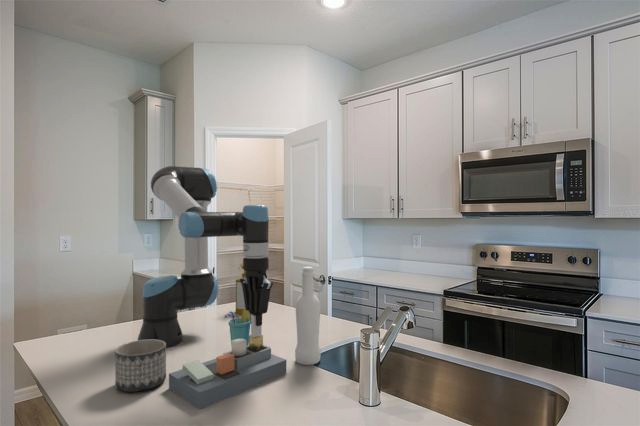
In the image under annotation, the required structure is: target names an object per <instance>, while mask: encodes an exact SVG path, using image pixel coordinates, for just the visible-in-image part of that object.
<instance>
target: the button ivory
mask: <svg viewBox="0 0 640 426" xmlns="http://www.w3.org/2000/svg"><path fill="white" fill-rule="evenodd" d="M231 351H232V355H234V356H242V355H245V354H246V353H247V340H246V339H235V340H232V347H231Z"/></svg>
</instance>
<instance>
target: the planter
mask: <svg viewBox="0 0 640 426" xmlns="http://www.w3.org/2000/svg"><path fill="white" fill-rule="evenodd" d="M114 354H115V355H114V357H115V360H114V361H115V363H114V365H115V368H114V369H115V373H114V374H115V377H114V378H115V383H114V384H115V388H116V389H118V390H119V391H123V392H139V391H145V390H149V389H152V388H155V387H157V386H159V385H161V384H162V383H164V382H165V380H166V378H167V347H166V343H165V342H164V341H162V340H156V339H146V340H138V339H137V340H133V341H129V342H126V343H124V344H121V345H119V346H118V347H117V348H116V349H115V352H114Z"/></svg>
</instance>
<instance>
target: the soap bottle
mask: <svg viewBox="0 0 640 426" xmlns="http://www.w3.org/2000/svg"><path fill="white" fill-rule="evenodd" d="M239 269H241V270H242V269H243V262H242V263H241V264H240V265H239V267H238V270H239ZM245 274H246V271H245V270H244V269H243V273H241V277H239V278H238V279H236V280H235V314H236V315H242V312H243V311H244V310H245V302H244V295H243V288H242V284H241V282H240V279H241V278H244V277H245Z"/></svg>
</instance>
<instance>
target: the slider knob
mask: <svg viewBox="0 0 640 426" xmlns="http://www.w3.org/2000/svg"><path fill="white" fill-rule="evenodd" d="M215 359H216V372H217V373H219V374H221V375H222V374H224V373H227V372H230V371H233V370H234V355H232V354H230V353H228V354H225V355H223V354H221V355H219V356H216V358H215Z"/></svg>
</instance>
